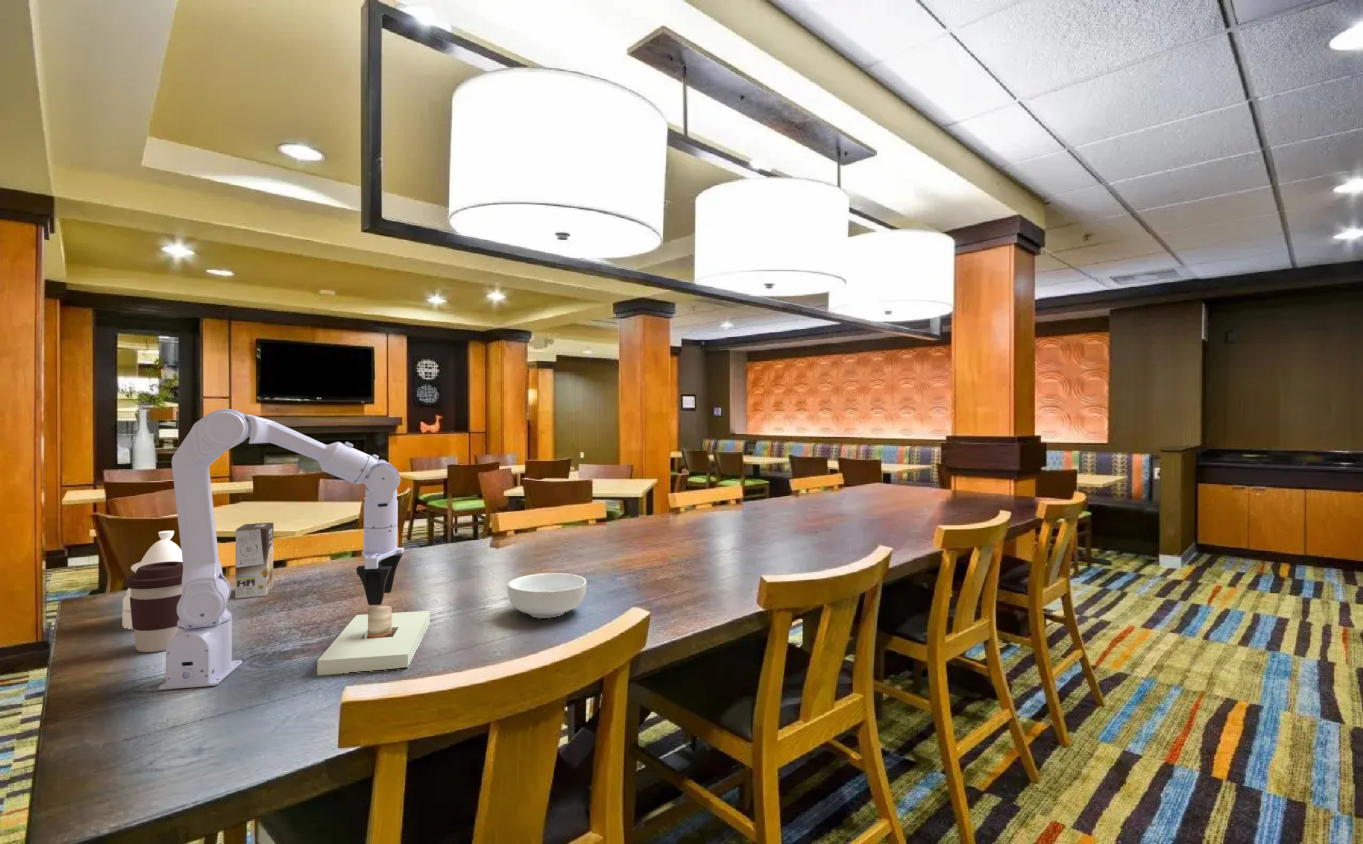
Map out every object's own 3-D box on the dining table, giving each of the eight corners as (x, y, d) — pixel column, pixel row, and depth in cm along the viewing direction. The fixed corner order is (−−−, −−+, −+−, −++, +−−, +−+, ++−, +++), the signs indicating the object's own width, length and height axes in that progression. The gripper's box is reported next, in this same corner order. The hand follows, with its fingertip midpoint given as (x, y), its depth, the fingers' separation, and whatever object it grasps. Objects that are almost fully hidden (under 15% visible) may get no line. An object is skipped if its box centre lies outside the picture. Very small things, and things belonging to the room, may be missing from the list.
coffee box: (267, 596, 148) (267, 528, 148) (234, 599, 145) (234, 530, 145) (273, 586, 156) (274, 521, 156) (242, 589, 154) (243, 523, 153)
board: (407, 668, 108) (407, 654, 107) (317, 675, 104) (317, 660, 104) (429, 622, 131) (429, 610, 131) (356, 627, 128) (356, 615, 128)
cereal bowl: (598, 605, 144) (598, 575, 144) (565, 629, 128) (566, 595, 128) (531, 599, 149) (531, 569, 149) (492, 621, 133) (492, 587, 133)
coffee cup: (140, 640, 119) (140, 561, 119) (203, 634, 123) (203, 557, 122) (114, 659, 110) (115, 573, 110) (183, 652, 113) (183, 569, 113)
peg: (388, 649, 116) (388, 612, 116) (364, 651, 115) (365, 613, 115) (393, 642, 120) (394, 605, 120) (371, 643, 119) (371, 606, 119)
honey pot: (133, 614, 134) (133, 530, 133) (208, 606, 140) (208, 526, 139) (112, 633, 122) (112, 541, 122) (194, 624, 128) (195, 536, 128)
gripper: (395, 532, 111) (395, 609, 111) (411, 518, 125) (410, 586, 125) (352, 533, 109) (351, 611, 110) (372, 519, 124) (371, 588, 124)
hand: (380, 598), depth 117 cm, fingers open, 7 cm apart
